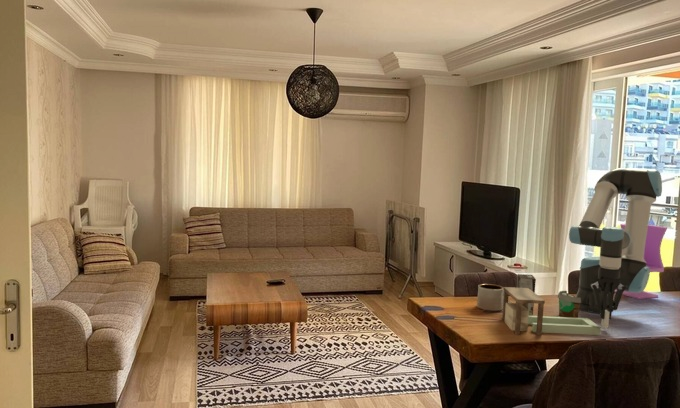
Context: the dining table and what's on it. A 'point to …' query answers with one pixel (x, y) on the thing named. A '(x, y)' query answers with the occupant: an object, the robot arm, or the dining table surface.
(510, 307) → the beech block
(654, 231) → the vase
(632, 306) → the dining table surface
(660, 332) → the dining table surface
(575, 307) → the food container
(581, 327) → the pale green tray
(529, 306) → the coffee box
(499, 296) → the planter
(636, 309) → the dining table surface
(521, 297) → the brown legged piece
